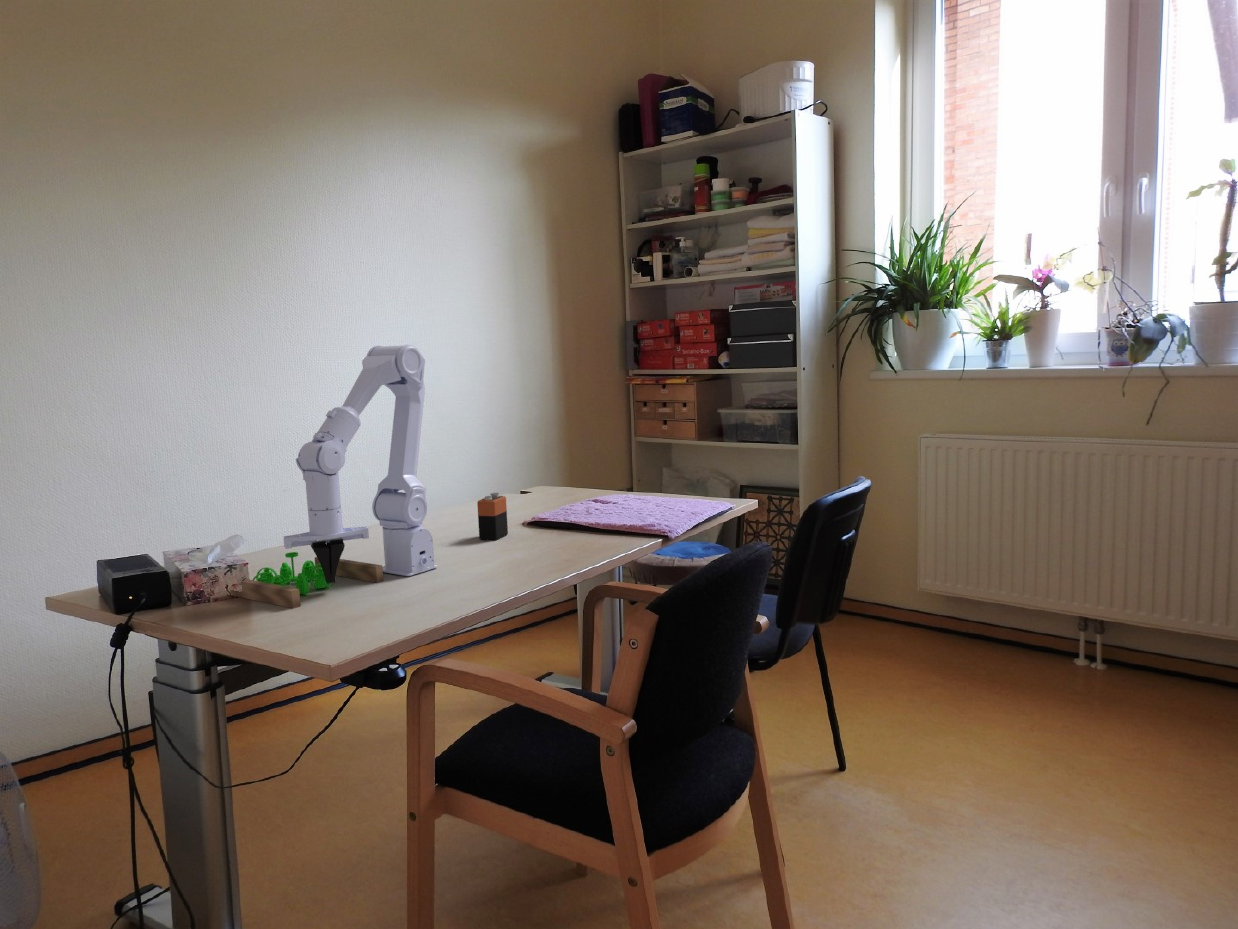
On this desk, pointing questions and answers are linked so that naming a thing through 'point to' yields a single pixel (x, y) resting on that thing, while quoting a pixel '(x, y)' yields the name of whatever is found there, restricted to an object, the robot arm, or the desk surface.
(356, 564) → the pair of wooden bars
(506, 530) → the battery
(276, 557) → the desk surface
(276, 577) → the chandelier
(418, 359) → the robot arm
